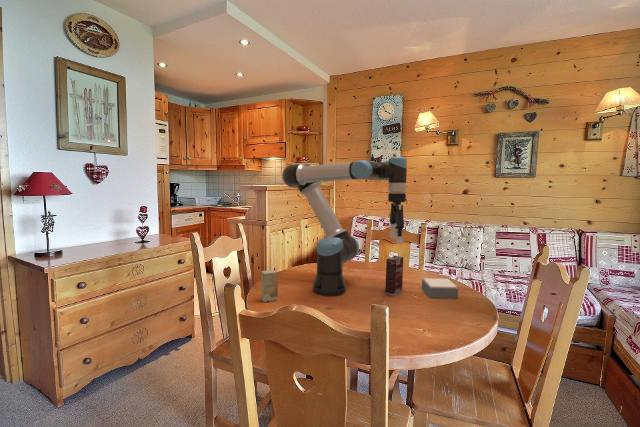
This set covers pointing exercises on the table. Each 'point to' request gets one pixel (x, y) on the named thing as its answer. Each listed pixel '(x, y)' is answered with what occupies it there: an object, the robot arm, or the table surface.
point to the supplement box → (394, 275)
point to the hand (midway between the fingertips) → (395, 240)
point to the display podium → (439, 288)
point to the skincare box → (269, 285)
